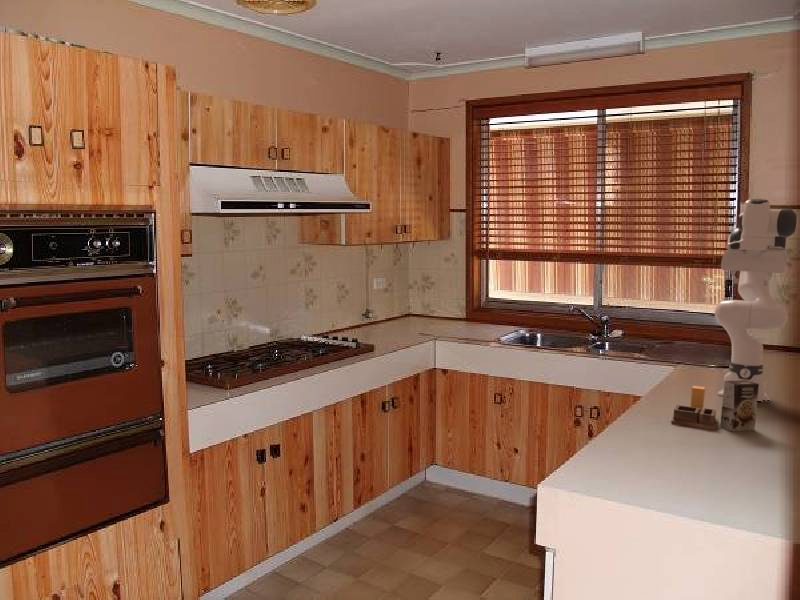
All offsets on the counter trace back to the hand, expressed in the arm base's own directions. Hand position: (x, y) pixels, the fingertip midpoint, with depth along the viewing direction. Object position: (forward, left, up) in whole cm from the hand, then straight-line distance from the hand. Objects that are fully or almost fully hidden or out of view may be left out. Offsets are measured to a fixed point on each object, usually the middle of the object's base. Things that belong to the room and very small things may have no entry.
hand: (750, 284), depth 251 cm
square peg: (+6, -14, -48) cm, 50 cm away
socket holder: (+18, -13, -48) cm, 53 cm away
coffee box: (+17, 0, -48) cm, 51 cm away
